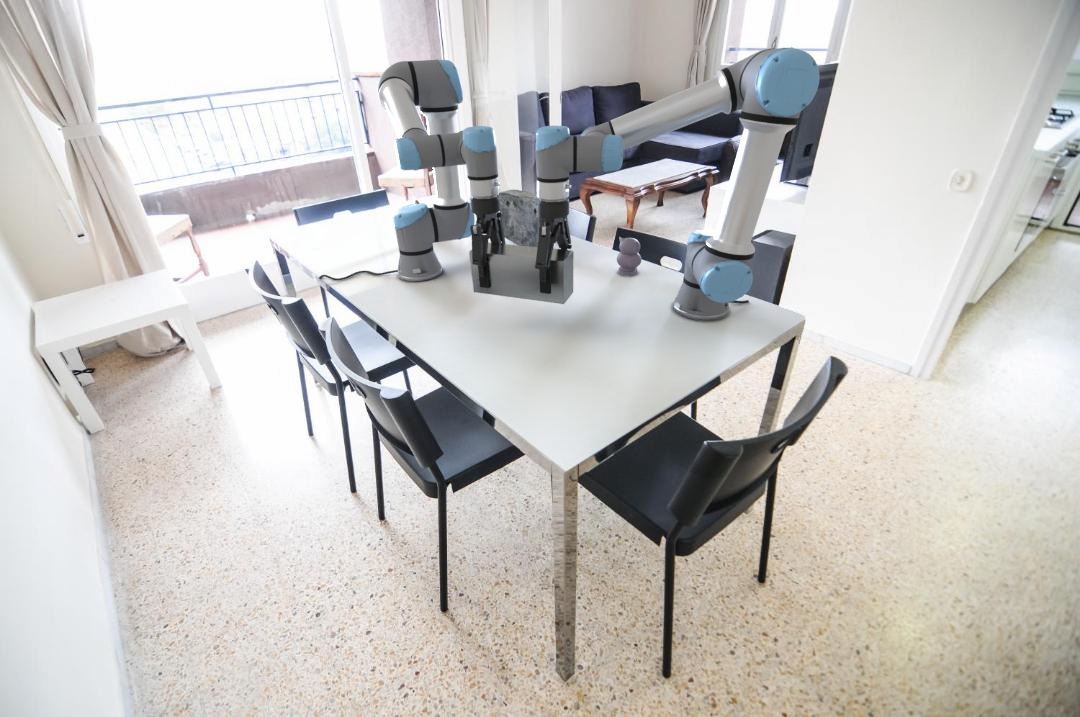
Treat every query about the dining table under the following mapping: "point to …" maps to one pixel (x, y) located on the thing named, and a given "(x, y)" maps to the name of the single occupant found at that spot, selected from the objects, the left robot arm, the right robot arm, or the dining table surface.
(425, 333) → the dining table surface
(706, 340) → the dining table surface
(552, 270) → the box
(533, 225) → the concrete block
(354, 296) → the dining table surface
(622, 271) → the cat figurine
